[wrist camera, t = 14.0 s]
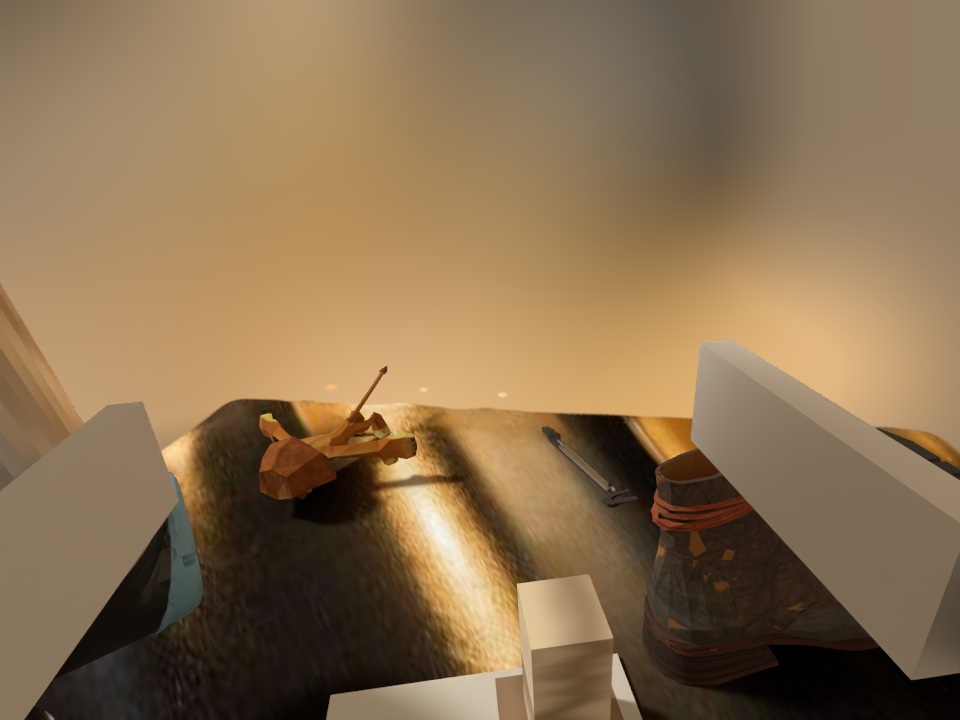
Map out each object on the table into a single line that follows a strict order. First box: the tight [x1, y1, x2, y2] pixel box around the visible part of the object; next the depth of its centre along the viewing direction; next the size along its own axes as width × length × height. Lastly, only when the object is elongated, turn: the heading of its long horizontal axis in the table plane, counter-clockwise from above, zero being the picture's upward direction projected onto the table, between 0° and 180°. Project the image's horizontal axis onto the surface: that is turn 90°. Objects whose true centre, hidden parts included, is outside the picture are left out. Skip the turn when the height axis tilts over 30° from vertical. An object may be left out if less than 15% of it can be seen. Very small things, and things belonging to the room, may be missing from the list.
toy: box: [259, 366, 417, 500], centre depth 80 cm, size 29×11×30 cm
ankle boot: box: [642, 448, 880, 685], centre depth 46 cm, size 11×31×20 cm, turn 108°
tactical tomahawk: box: [542, 427, 638, 507], centre depth 76 cm, size 21×7×1 cm, turn 20°
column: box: [517, 574, 613, 720], centre depth 35 cm, size 5×5×12 cm
